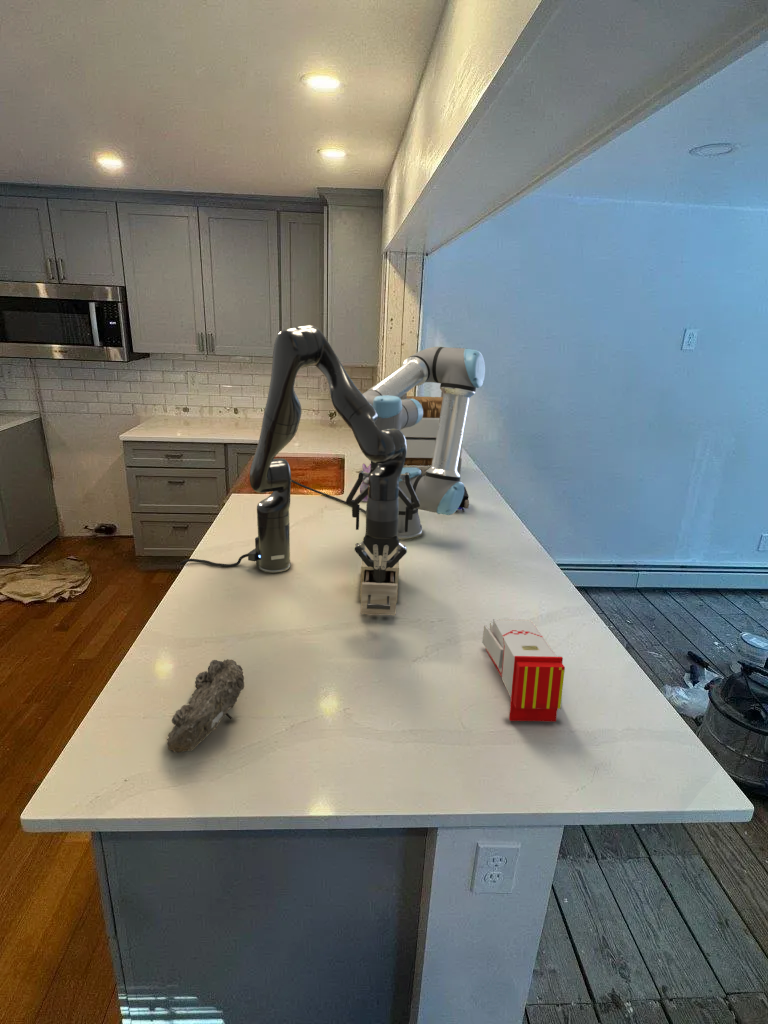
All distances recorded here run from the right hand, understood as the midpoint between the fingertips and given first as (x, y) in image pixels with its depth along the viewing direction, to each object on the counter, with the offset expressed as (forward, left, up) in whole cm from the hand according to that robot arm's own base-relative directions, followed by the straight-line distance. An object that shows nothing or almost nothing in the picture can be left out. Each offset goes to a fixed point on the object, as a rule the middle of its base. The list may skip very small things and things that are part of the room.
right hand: (381, 529), depth 158 cm
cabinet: (+3, -2, -17) cm, 17 cm away
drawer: (+11, -10, -16) cm, 22 cm away
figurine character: (-31, +68, -17) cm, 77 cm away
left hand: (+18, -16, -4) cm, 24 cm away
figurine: (-60, +45, -17) cm, 77 cm away
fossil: (+24, -62, -17) cm, 69 cm away
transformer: (-77, +91, -17) cm, 120 cm away
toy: (+53, -6, -17) cm, 55 cm away
